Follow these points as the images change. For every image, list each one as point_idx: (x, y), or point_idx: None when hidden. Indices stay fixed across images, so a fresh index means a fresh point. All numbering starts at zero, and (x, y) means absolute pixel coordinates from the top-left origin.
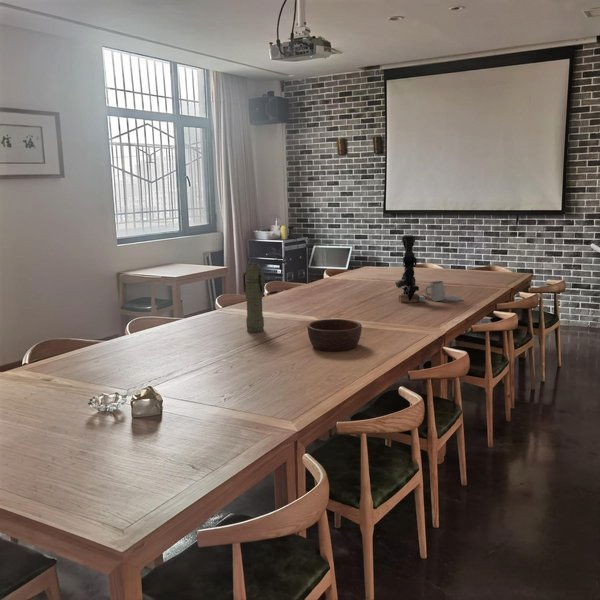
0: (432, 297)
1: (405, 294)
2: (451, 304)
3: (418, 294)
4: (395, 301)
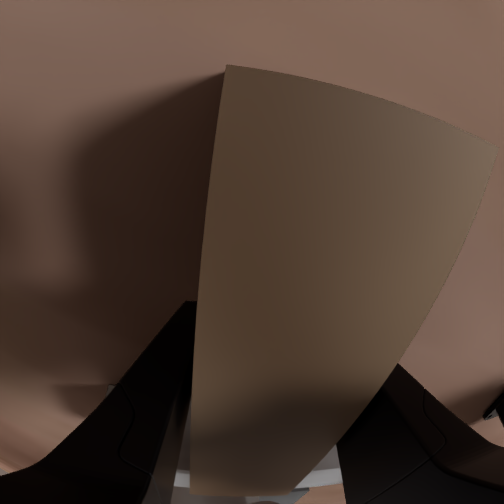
0: (190, 496)
1: (378, 378)
2: (37, 457)
3: (327, 483)
4: (441, 72)
